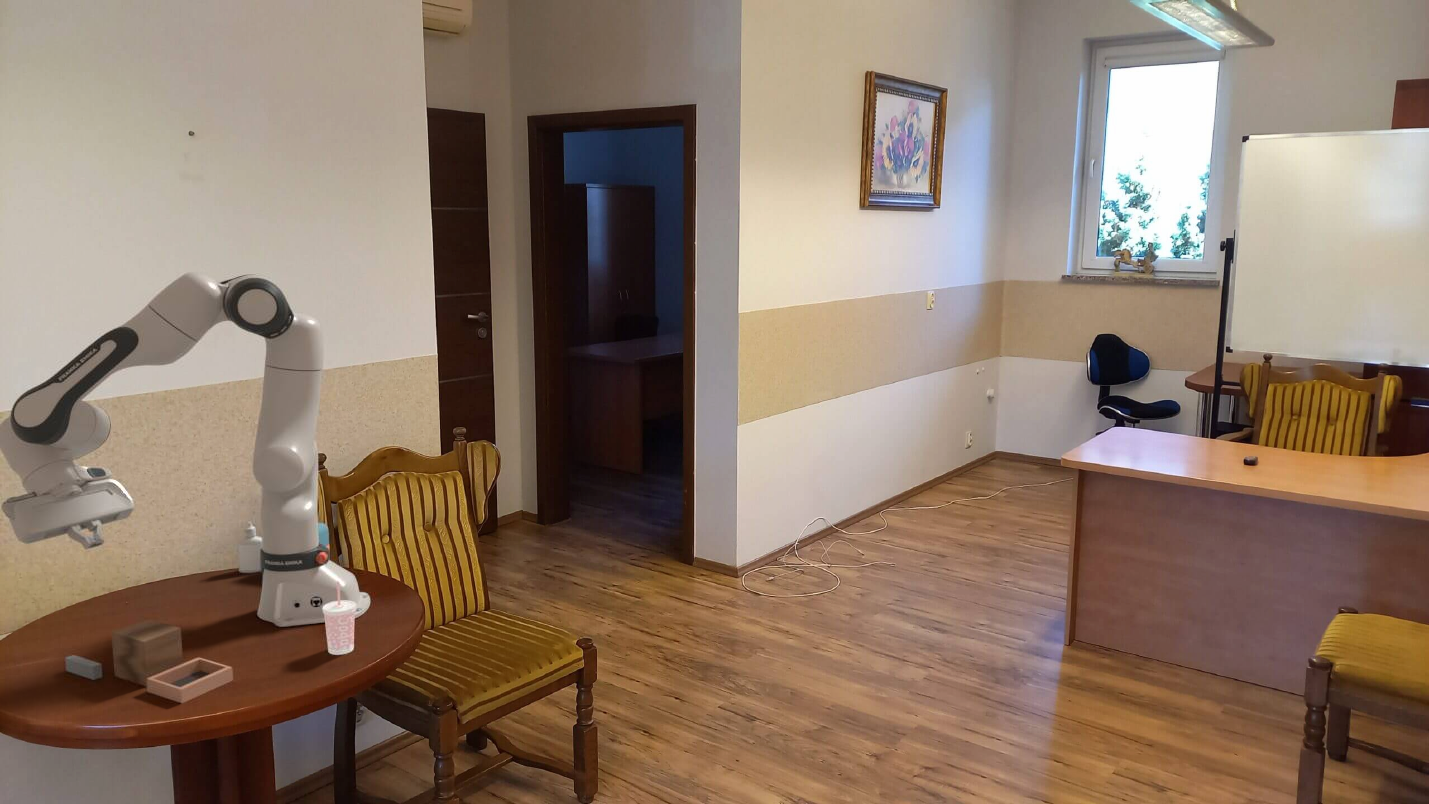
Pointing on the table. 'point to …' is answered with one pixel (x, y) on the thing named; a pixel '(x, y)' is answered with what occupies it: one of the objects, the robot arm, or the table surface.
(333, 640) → the beverage cup
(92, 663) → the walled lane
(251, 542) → the eye dropper bottle
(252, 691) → the table surface
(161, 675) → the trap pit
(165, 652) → the walnut block
